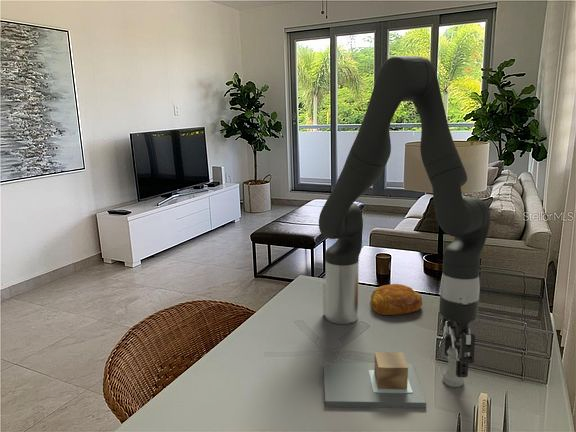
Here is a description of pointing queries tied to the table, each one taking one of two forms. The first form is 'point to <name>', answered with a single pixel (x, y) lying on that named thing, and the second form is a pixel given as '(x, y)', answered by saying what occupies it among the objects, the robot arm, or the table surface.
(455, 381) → the rook chess piece
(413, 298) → the croissant
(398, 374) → the walnut block
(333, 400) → the board
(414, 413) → the table surface
